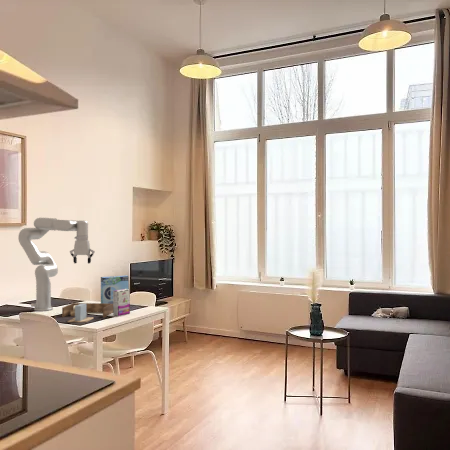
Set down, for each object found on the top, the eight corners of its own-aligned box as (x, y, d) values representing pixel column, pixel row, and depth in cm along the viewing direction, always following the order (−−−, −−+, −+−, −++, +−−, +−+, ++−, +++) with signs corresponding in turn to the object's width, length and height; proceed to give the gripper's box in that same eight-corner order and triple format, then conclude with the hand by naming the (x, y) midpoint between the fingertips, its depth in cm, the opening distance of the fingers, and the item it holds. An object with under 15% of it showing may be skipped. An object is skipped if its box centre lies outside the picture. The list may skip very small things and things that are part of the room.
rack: (62, 316, 300) (62, 307, 300) (73, 311, 318) (73, 303, 318) (104, 317, 298) (104, 308, 298) (113, 312, 316) (113, 303, 316)
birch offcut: (73, 311, 304) (73, 307, 304) (73, 309, 311) (73, 305, 311) (82, 311, 305) (82, 306, 305) (83, 309, 313) (83, 304, 313)
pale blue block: (74, 320, 285) (75, 306, 285) (81, 317, 295) (81, 303, 295) (80, 320, 285) (80, 306, 285) (86, 317, 295) (86, 303, 295)
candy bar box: (124, 312, 314) (124, 288, 315) (130, 313, 312) (130, 289, 312) (112, 315, 305) (112, 290, 305) (118, 316, 302) (118, 291, 302)
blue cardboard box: (126, 306, 341) (126, 275, 341) (128, 307, 336) (129, 275, 336) (100, 308, 330) (100, 276, 330) (102, 309, 326) (102, 277, 326)
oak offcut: (70, 316, 304) (70, 311, 304) (75, 313, 313) (75, 309, 313) (81, 316, 304) (81, 311, 304) (85, 314, 313) (85, 309, 313)
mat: (67, 322, 284) (67, 321, 284) (75, 317, 297) (75, 317, 297) (86, 322, 283) (86, 321, 283) (93, 318, 296) (93, 317, 296)
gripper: (67, 238, 315) (67, 263, 315) (92, 238, 314) (92, 263, 314) (72, 238, 323) (72, 262, 323) (96, 238, 322) (96, 263, 322)
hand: (82, 263), depth 318 cm, fingers open, 9 cm apart
